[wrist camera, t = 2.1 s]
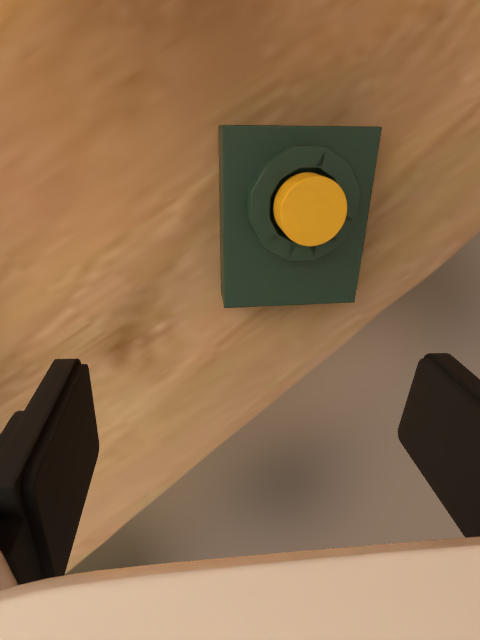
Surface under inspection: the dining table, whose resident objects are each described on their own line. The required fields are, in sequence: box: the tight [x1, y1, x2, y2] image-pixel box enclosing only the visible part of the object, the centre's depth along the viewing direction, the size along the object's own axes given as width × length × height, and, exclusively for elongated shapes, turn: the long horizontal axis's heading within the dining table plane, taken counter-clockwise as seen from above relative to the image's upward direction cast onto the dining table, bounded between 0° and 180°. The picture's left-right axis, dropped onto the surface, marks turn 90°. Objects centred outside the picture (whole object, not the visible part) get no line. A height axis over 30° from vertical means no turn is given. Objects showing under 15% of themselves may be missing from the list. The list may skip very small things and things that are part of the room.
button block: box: [219, 125, 382, 308], centre depth 27 cm, size 12×10×5 cm
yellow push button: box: [273, 172, 347, 246], centre depth 23 cm, size 4×4×2 cm
